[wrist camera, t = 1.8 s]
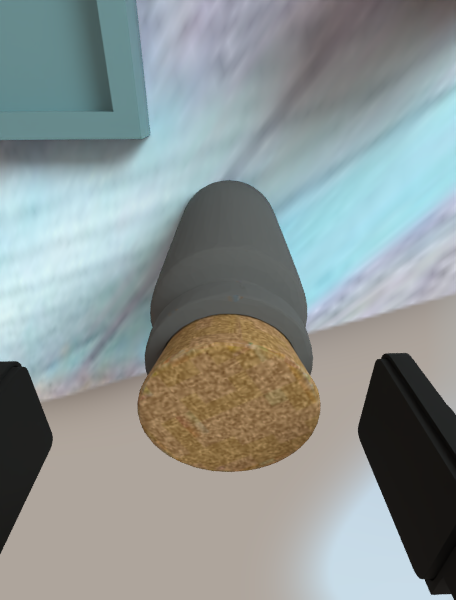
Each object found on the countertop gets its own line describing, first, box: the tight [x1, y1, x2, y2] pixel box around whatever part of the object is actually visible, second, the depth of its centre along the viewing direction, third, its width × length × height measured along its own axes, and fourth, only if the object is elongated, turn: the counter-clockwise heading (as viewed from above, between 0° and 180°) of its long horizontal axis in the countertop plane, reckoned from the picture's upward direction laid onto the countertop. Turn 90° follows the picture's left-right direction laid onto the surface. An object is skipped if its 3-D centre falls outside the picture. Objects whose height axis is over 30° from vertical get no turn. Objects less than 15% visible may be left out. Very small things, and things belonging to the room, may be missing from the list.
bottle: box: [138, 180, 320, 472], centre depth 15 cm, size 6×6×15 cm
